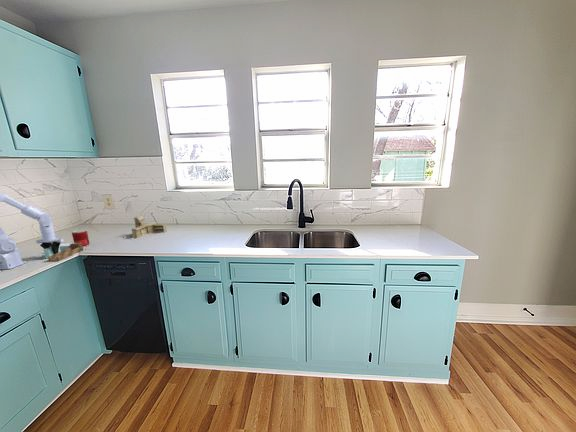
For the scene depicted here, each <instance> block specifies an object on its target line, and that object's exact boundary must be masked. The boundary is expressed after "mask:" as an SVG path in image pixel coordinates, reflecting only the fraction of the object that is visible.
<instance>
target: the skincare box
mask: <svg viewBox="0 0 576 432" xmlns="http://www.w3.org/2000/svg"><path fill="white" fill-rule="evenodd" d="M72 243H73V242H71V243H70V242H67V243H60V250H61V251H64V250H66V249H68V248H70V244H72Z"/></svg>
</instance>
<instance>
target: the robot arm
mask: <svg viewBox="0 0 576 432" xmlns="http://www.w3.org/2000/svg"><path fill="white" fill-rule="evenodd" d="M0 202H1V203H5V204H7V205H10V206H12V207H14V208H15V209H16V208H17V210H20V212H21V214H23V215H24V216H27V217H29V218H31V219H33V220H36V221H37V222H38V224H39V231H40V234H41V238H42V239H37V240H35V242H36V244H39V245H40V247H41V248H43V250H44V249H46V248H49V247H52V249H53V252H54V254H57V253H58V250H59V246H60V244H62V243H64V242H65V241H64V238H58V237H56V233H55V229H54V225H53V222H52V221H53V217H51V215H50V214H48V213H46V212H45V211H44V210H40V209H38V208H36V206H35V205H30V204H29V205H27V204H26V205H25V204H23V203H21V202H19V201H18V200H16V199H14V198H12V197H10V196H8V195H6V194H4V193H1V192H0ZM26 263H28V261H23V259H22V256H21V253H20V249H19V247H17V243H16V241H15V240H14V239H13V238H12V237H10V236H8V234H7V233H6V232H5V230H4V229H3V227H2V226H1V225H0V270H11V269H14V268H17V267H19V266H22V265H24V264H26Z"/></svg>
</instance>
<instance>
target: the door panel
mask: <svg viewBox="0 0 576 432" xmlns="http://www.w3.org/2000/svg"><path fill="white" fill-rule="evenodd" d="M59 252H61V250H60V246H59V250H58V253H59ZM43 253H44V257H45V259H47V260H49V259H48V257H49V256H52V255H54V252H53V249H52V247H49V248H46V249H44V248H43Z"/></svg>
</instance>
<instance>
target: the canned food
mask: <svg viewBox="0 0 576 432" xmlns="http://www.w3.org/2000/svg"><path fill="white" fill-rule="evenodd" d="M71 235H72V240H73V243H82V247H83V248H84V247H87V245H88V246H89V245H90V239H89V234H88V230H87V229H86V228H82V229H80V228H79V229H75V230H73V231H71Z"/></svg>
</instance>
